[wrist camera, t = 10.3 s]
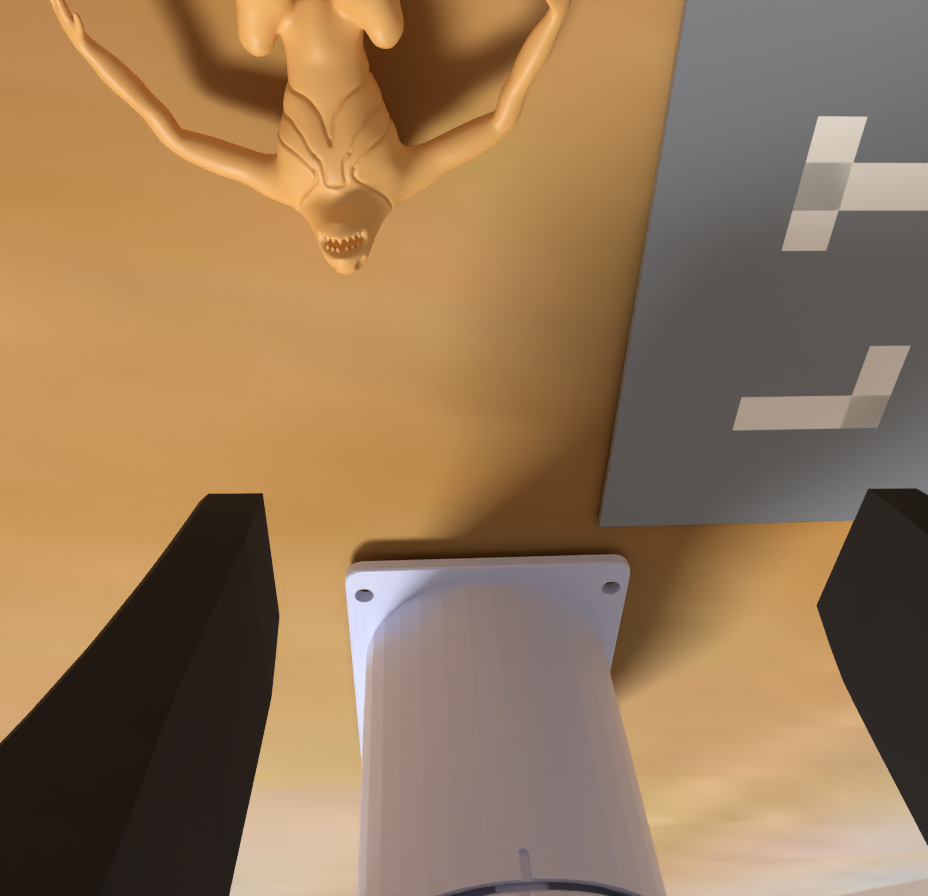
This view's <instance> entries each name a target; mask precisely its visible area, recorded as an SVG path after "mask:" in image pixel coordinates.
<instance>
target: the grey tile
mask: <svg viewBox="0 0 928 896" xmlns="http://www.w3.org/2000/svg"><path fill="white" fill-rule="evenodd" d="M892 488H917V489H918V490H920V491H922V492H924V493H925V494H927V495H928V0H684V6H683V12H682V18H681V24H680V30H679V36H678V42H677V48H676V54H675V60H674V66H673V72H672V78H671V84H670V91H669V97H668V103H667V109H666V115H665V121H664V127H663V133H662V139H661V145H660V151H659V157H658V163H657V169H656V175H655V181H654V187H653V193H652V199H651V206H650V212H649V218H648V224H647V230H646V236H645V242H644V248H643V254H642V260H641V266H640V272H639V278H638V284H637V290H636V296H635V302H634V308H633V314H632V321H631V327H630V333H629V339H628V345H627V351H626V357H625V363H624V369H623V375H622V381H621V387H620V393H619V399H618V405H617V411H616V417H615V423H614V429H613V435H612V442H611V448H610V454H609V460H608V466H607V472H606V478H605V484H604V490H603V496H602V502H601V508H600V514H599V520H598V523H599V527H623V526H662V525H700V524H738V523H776V522H815V521H853V520H855V517H856V515H857V513H858V510H859V508H860V506H861V504H862V501H863V499H864V497H865V495H866V492H867V490H868V489H892Z"/></svg>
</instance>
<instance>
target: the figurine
mask: <svg viewBox="0 0 928 896" xmlns="http://www.w3.org/2000/svg"><path fill="white" fill-rule="evenodd" d="M50 2H51V3H52V6H53V8H54V11H55V13H56V15H57V17H58V19H59V21H60V23H61V25H62V27H63V28H64V30H65V32H66V33H67V35H68V37H69V38H70V40H71V41H72V43H73V44H74V46H75V47H76V48H77V50H78V51H79V52H80V53H81V54H82V55H83V57H84V58H85V59H86V60H87V61H88V62H89V63H90V64H91V66H92V67H93V68H94V70H95V71H96V72H97V74H98V75H99V76H100V77H101V79H102V80H103V81H104V82H105V83H106V84H107V85H108V86H109V87H110V88H111V89H112V90H113V91H114V92H116V93H117V94H118V95H119V96H120V97H121V98H122V99H124V100H125V101H126V102H127V103H128V104H129V105H130V106H131V107H133V108H134V109H135V110H136V111H137V112H138V113H139V114H140V115H141V116H142V117H143V118H144V119H145V121H146V122H147V123H148V125H149V126H150V127H151V129H152V130H153V131H154V133H155V134H156V135H157V137H158V138H159V139H160V140H161V141H162V143H163V144H164V145H165V146H166V147H168V148H169V149H170V150H172V151H173V152H174V153H176V154H178V155H179V156H181V157H182V158H184V159H186V160H187V161H189V162H192V163H194V164H196V165H198V166H200V167H202V168H205V169H207V170H209V171H212V172H214V173H216V174H219V175H221V176H224V177H228V178H231V179H234V180H237V181H240V182H242V183H244V184H246V185H248V186H250V187H252V188H253V189H255V190H257V191H258V192H260V193H262V194H263V195H265V196H267V197H269V198H271V199H274V200H276V201H279V202H282V203H284V204H287V205H289V206H291V207H293V208H294V209H296V210H297V211H299V212H300V213H302V215H303V216H304V217H305V218H306V219H307V220H308V222H309V224H310V226H311V228H312V230H313V232H314V234H315V237H316V239H317V242H318V244H319V246H320V249H321V251H322V253H323V255H324V257H325V259H326V260H327V261H328V262H329V264H330V265H331V266H332V267H333V268H334V269H335V270H336V271H337V272H339V273H342V274H352V273H354V272H356V271H358V270H359V269H360V268H361V267H362V266H363V264H364V263H365V261H366V259H367V257H368V255H369V253H370V250H371V247H372V244H373V242H374V239H375V237H376V234H377V232H378V230H379V228H380V226H381V224H382V222H383V221H384V219H385V218H386V217H387V215H388V214H389V213H390V211H391V209H393V208H394V207H396V206H397V205H398V204H399V203H400V202H401V201H403V200H405V199H406V198H408V197H410V196H412V195H414V194H416V193H418V192H420V191H422V190H424V189H425V188H427V187H428V186H430V185H431V184H432V183H433V182H435V181H436V180H437V179H438V178H439V177H441V176H442V175H443V174H444V173H446V172H447V171H449V170H450V169H452V168H454V167H456V166H458V165H460V164H463V163H465V162H467V161H469V160H471V159H472V158H474V157H476V156H477V155H479V154H480V153H482V152H484V151H485V150H487V149H488V148H490V147H492V146H493V145H495V144H496V143H497V142H499V141H500V140H501V139H503V138H504V137H505V136H506V135H507V134H508V133H509V132H510V131H511V130H512V129H513V127H514V126H515V125H516V123H517V121H518V119H519V116H520V114H521V111H522V108H523V105H524V102H525V99H526V96H527V93H528V91H529V89H530V87H531V85H532V84H533V82H534V80H535V79H536V77H537V75H538V74H539V72H540V70H541V69H542V67H543V66H544V64H545V62H546V61H547V59H548V57H549V55H550V53H551V51H552V49H553V46H554V43H555V40H556V38H557V35H558V33H559V30H560V28H561V26H562V24H563V22H564V20H565V18H566V15H567V13H568V10H569V7H570V3H571V0H546V2H547V3H548V5H549V6H550V7H549V9H548V11H547V12H546V14H545V15H544V16H543V18H542V19H541V20H540V21H539V23H538V24H537V25H536V26H535V28H534V29H533V30H532V32H531V33H530V34H529V36H528V37H527V39H526V41H525V43H524V44H523V46H522V48H521V50H520V52H519V54H518V56H517V58H516V60H515V63H514V66H513V69H512V71H511V74H510V76H509V78H508V79H507V81H506V83H505V84H504V86H503V88H502V90H501V92H500V95H499V99H498V103H497V106H496V109H495V111H493V112H491V113H488V114H486V115H483V116H481V117H478V118H476V119H473V120H471V121H469V122H466V123H464V124H462V125H460V126H458V127H456V128H454V129H452V130H450V131H448V132H446V133H444V134H442V135H440V136H438V137H436V138H434V139H432V140H430V141H428V142H425V143H423V144H420V145H416V146H406V145H403V144H402V143H401V142H400V140H399V137H398V134H397V131H396V128H395V125H394V123H393V121H392V119H391V118H390V117H389V113H388V111H387V109H386V106H385V103H384V101H383V100H382V94H381V91H380V89H379V87H378V84H377V83H376V81H375V79H374V77H373V75H372V73H371V72H369V62H368V58H367V55H366V52H365V49H364V45H363V37H364V30H365V31H366V33H367V34H368V36H369V38H370V39H371V41H372V42H373V43H374V44H375V45H376V46H377V47H379V48H384V49H389V48H392V47H393V46H394V45H395V44H396V43H397V42H398V41H399V39H400V37H401V35H402V33H403V29H404V20H403V14H402V9H401V4H400V0H235V2H236V13H237V30H238V36H239V39H240V41H241V43H242V45H243V46H244V47H245V49H246V50H247V51H248V52H250V53H251V54H252V55H254V56H257V57H260V56H265V55H267V54H269V53H270V52H271V50H272V49H273V46H274V43H275V40H276V37H277V35H280V36H281V38H282V41H283V44H284V48H285V53H286V61H287V73H288V82H287V85H286V89H285V93H284V99H283V109H284V111H283V114H282V119H281V122H280V126H279V131H278V135H277V154H264V153H260V152H256V151H253V150H250V149H247V148H245V147H242V146H239V145H236V144H233V143H230V142H227V141H224V140H221V139H218V138H214V137H211V136H208V135H204V134H200V133H196V132H192V131H188V130H184V129H182V128H181V127H180V126H179V125H178V124H177V122H176V120H175V119H174V117H173V116H172V114H171V113H170V111H169V110H168V109H167V108H166V107H165V106H164V105H163V104H162V103H161V102H160V101H159V100H158V99H157V98H156V97H155V96H154V95H153V94H152V93H151V92H150V90H149V89H148V88H147V87H146V85H145V84H144V83H143V82H142V81H141V80H140V79H139V78H138V77H137V76H136V75H135V74H134V73H133V72H132V71H131V70H130V69H129V68H128V67H127V66H126V65H125V64H124V63H123V62H122V61H120V60H119V59H118V58H117V57H115V56H114V55H113V54H111V53H110V52H109V51H107V50H106V49H105V48H103V47H102V46H100V45H99V44H98V43H97V42H95V41H94V40H93V39H92V38H91V37H90V36H88V35H87V34H86V32H85V31H84V27H83V23H82V20H81V18H80V16H79V15H78V14H77V13H76V12H74V13H73V16H72V14H71V12H70V10H69V9H68V7H67V5H66V3H65V1H64V0H50Z"/></svg>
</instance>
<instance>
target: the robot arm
mask: <svg viewBox="0 0 928 896" xmlns="http://www.w3.org/2000/svg"><path fill="white" fill-rule="evenodd" d="M629 578H630V567H629V564H628V561H627V560H626V559H625V557H623V556H621V555H616V554H603V555H567V556H532V557H497V558H462V559H426V560H391V561H362V562H356V563H354V564H352V565H350V566H349V568H348V569H347V571H346V578H345V586H346V597H347V608H348V619H349V630H350V641H351V652H352V663H353V674H354V684H355V695H356V706H357V717H358V728H359V739H360V750H361V759H362V769H361V794H360V819H359V844H358V869H357V894H356V896H666V892H665V888H664V884H663V880H662V876H661V872H660V868H659V864H658V860H657V856H656V852H655V848H654V844H653V840H652V836H651V832H650V828H649V824H648V821H647V817H646V813H645V809H644V805H643V801H642V797H641V793H640V789H639V785H638V781H637V777H636V773H635V769H634V765H633V761H632V757H631V753H630V749H629V745H628V741H627V737H626V734H625V730H624V726H623V722H622V718H621V714H620V710H619V706H618V702H617V698H616V694H615V690H614V686H613V682H612V678H611V674H610V670H611V665H612V660H613V655H614V650H615V646H616V641H617V636H618V631H619V626H620V621H621V617H622V612H623V607H624V602H625V597H626V593H627V588H628V583H629ZM607 582H613V583H611V584H606V583H607ZM362 589H366V590H370V591H367V592H363V591H359V590H362ZM817 608H818V611H819V614H820V617H821V620H822V623H823V626H824V629H825V632H826V635H827V638H828V641H829V644H830V647H831V650H832V653H833V655H834V658H835V661H836V663H837V666H838V669H839V671H840V674H841V677H842V679H843V682H844V684H845V686H846V688H847V690H848V692H849V694H850V696H851V698H852V700H853V702H854V704H855V706H856V708H857V710H858V712H859V714H860V716H861V718H862V720H863V722H864V724H865V726H866V728H867V730H868V732H869V734H870V736H871V738H872V740H873V741H874V743H875V745H876V747H877V749H878V751H879V753H880V755H881V757H882V759H883V761H884V763H885V765H886V766H887V768H888V770H889V772H890V774H891V776H892V778H893V780H894V782H895V784H896V786H897V788H898V789H899V791H900V793H901V795H902V797H903V799H904V801H905V803H906V805H907V807H908V809H909V811H910V813H911V814H912V816H913V818H914V820H915V822H916V824H917V826H918V828H919V830H920V832H921V834H922V836H923V838H924V839H925V841H926V843H927V845H928V495H927V494H925V493H924V492H922V491H920V490H918V489H917V488H892V489H868V490H867V492H866V495H865V497H864V499H863V501H862V504H861V506H860V508H859V510H858V513H857V515H856V517H855V520H854V522H853V524H852V526H851V529H850V531H849V533H848V535H847V538H846V540H845V542H844V544H843V547H842V549H841V551H840V554H839V556H838V558H837V560H836V563H835V565H834V567H833V569H832V572H831V574H830V576H829V579H828V581H827V583H826V585H825V588H824V590H823V592H822V594H821V597H820V599H819V601H818V604H817ZM278 625H279V610H278V602H277V595H276V588H275V580H274V573H273V565H272V558H271V551H270V543H269V536H268V529H267V521H266V514H265V507H264V499H263V493H255V494H208V495H207V496H206V497H204V498H203V499H202V500H201V501H200V502H199V503H198V505H197V506H196V508H195V509H194V511H193V512H192V513H191V515H190V516H189V518H188V519H187V520H186V522H185V523H184V525H183V526H182V527H181V529H180V530H179V532H178V533H177V534H176V536H175V537H174V539H173V540H172V541H171V543H170V544H169V545H168V547H167V548H166V549H165V551H164V552H163V554H162V555H161V556H160V558H159V559H158V560H157V561H156V563H155V564H154V565H153V567H152V568H151V569H150V571H149V572H148V573H147V575H146V576H145V577H144V579H143V580H142V581H141V582H140V584H139V585H138V586H137V588H136V589H135V590H134V591H133V593H132V594H131V595H130V596H129V597H128V599H127V600H126V601H125V602H124V604H123V605H122V606H121V607H120V609H119V610H118V611H117V612H116V614H115V615H114V616H113V617H112V618H111V620H110V621H109V622H108V623H107V625H106V626H105V627H104V628H103V630H102V631H101V632H100V633H99V635H98V636H97V637H96V638H95V639H94V641H93V642H92V643H91V644H90V645H89V646H88V648H87V649H86V650H85V651H84V652H83V653H82V654H81V656H80V657H79V658H78V659H77V660H76V661H75V662H74V663H73V665H72V666H71V667H70V668H69V669H68V670H67V671H66V672H65V673H64V675H63V676H62V677H61V678H60V679H59V680H58V681H57V682H56V684H55V685H54V686H53V687H52V688H51V689H50V690H49V691H48V693H47V694H46V695H45V696H44V697H43V698H42V699H41V700H40V701H39V703H38V704H37V705H36V706H35V707H34V708H33V709H32V710H31V711H30V713H29V714H28V715H27V716H26V717H25V718H24V719H23V720H22V721H21V722H20V723H19V724H18V725H17V726H16V727H15V728H14V729H13V730H12V731H11V732H10V734H9V735H8V736H7V737H6V738H5V739H4V740H3V741H2V742H1V743H0V896H229V894H230V888H231V884H232V879H233V874H234V870H235V865H236V860H237V856H238V851H239V847H240V842H241V837H242V833H243V828H244V823H245V819H246V814H247V809H248V805H249V800H250V796H251V791H252V786H253V782H254V777H255V772H256V768H257V763H258V758H259V754H260V749H261V744H262V740H263V735H264V730H265V725H266V721H267V716H268V711H269V706H270V701H271V696H272V687H273V677H274V668H275V658H276V647H277V636H278Z"/></svg>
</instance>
